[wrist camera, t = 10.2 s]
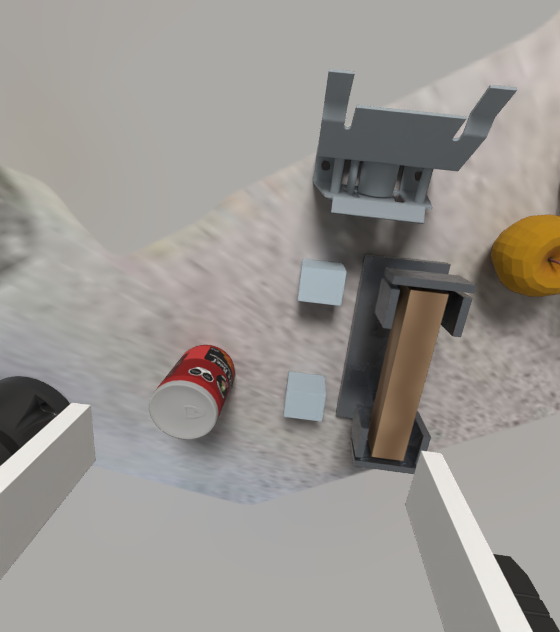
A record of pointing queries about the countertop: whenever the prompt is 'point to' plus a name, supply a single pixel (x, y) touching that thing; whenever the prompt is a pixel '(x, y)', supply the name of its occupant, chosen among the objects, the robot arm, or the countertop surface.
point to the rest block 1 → (322, 282)
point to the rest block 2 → (305, 396)
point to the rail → (405, 369)
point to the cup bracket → (372, 339)
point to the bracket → (393, 150)
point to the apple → (529, 256)
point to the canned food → (193, 393)
